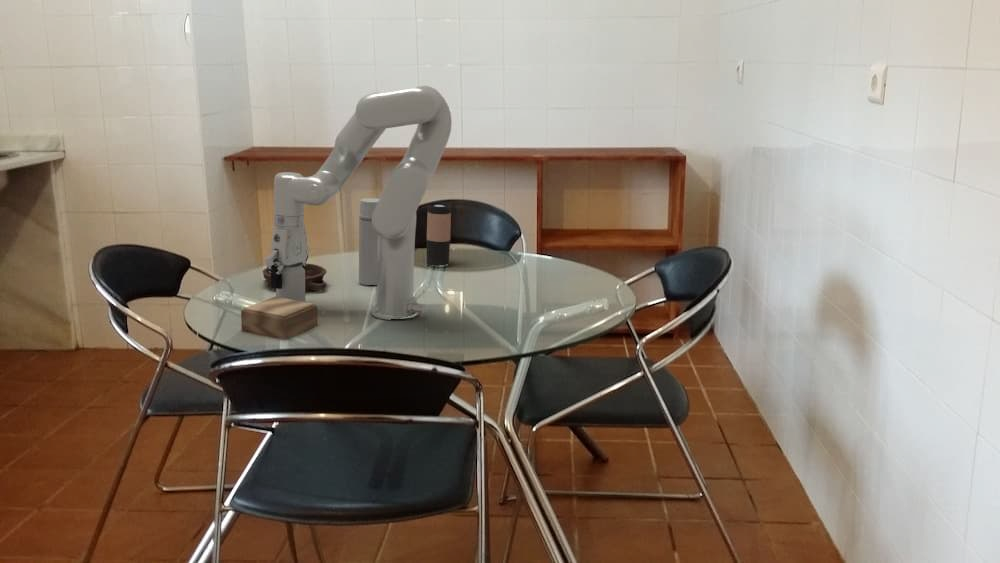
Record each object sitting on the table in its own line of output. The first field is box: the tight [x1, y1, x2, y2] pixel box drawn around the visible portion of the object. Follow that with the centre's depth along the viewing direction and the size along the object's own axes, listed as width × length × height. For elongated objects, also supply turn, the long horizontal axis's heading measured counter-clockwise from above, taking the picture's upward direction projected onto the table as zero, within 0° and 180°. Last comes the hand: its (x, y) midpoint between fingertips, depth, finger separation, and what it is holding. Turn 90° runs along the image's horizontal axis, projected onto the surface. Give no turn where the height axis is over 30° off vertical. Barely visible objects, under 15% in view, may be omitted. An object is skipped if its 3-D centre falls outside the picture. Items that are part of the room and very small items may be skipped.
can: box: [275, 263, 306, 302], centre depth 229 cm, size 8×8×12 cm
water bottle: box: [358, 197, 379, 286], centre depth 255 cm, size 9×8×25 cm
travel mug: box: [426, 202, 452, 265], centre depth 280 cm, size 8×8×20 cm
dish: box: [262, 263, 327, 292], centre depth 251 cm, size 18×22×5 cm
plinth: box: [240, 296, 319, 340], centre depth 214 cm, size 13×13×6 cm
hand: (288, 283), depth 229 cm, fingers open, 9 cm apart
